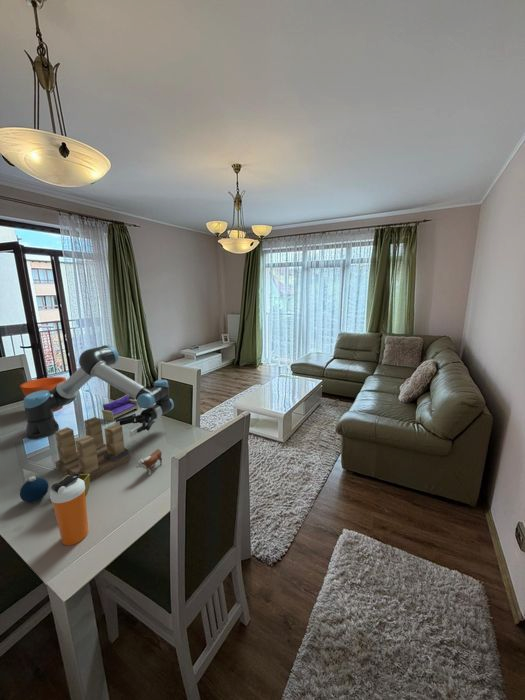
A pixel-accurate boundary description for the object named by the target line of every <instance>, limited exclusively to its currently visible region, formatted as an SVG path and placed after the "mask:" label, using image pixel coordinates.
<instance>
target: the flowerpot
mask: <svg viewBox="0 0 525 700" xmlns="http://www.w3.org/2000/svg"><path fill="white" fill-rule="evenodd" d="M66 380H67V378H66V377H63V376H52V377H51V376H50V377H42V378H37V379H32V380H29V381H25V382H23V383H22V384H20V385H19V387H20V389H21V391H22V393H23V395H24V398H25V397H26V396H27V395H29V394H31V393H33V392H37V391H42V390H47V391H49V390H52V389H54V388H55V387H56V386H57V385H58V384H59V383H61V382H65V381H66ZM62 408H64V406H62V407H60V408H57V409H55V410H53V413H54V412H57V411H59V410H61V409H62Z"/></svg>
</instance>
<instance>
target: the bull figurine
mask: <svg viewBox="0 0 525 700" xmlns="http://www.w3.org/2000/svg"><path fill="white" fill-rule="evenodd" d="M158 461H159V466H162V465H163V457H162V451H161V450H160V449H156V450H155V451H153V452H152V453H151V454H149V455H148V456H146V457H144V458H143V459H141V458H140V459H139V460H138V461H137V464H136V465H135V468H137V469H138V468H142V469H144V470H146V471H145V473H146V474H148V476H149V477H150V476H151V475H152V472H151V471H152V468H155V466H156V463H157V462H158Z"/></svg>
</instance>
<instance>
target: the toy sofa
mask: <svg viewBox="0 0 525 700" xmlns="http://www.w3.org/2000/svg"><path fill="white" fill-rule="evenodd" d="M102 408H103V409H102V410H101V412H102V417H103V420H104V421H109V422H115V419H116V418H118V417H120V416H122V415H124V414H126V413H129V412H131V411H133V410H134V409H138V410H139V405H138V404H137V400H136V399H130V396H129V395H127V394H125V395H123V396H122V397H119V398H117V399H115V400H112V401H110V402H107V403H103V404H102Z"/></svg>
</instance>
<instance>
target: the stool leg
mask: <svg viewBox="0 0 525 700" xmlns="http://www.w3.org/2000/svg"><path fill="white" fill-rule="evenodd" d="M112 424H113V425H112ZM112 424H110V425H111V426H110V425H109V427H108V426H107V427H105V428H104V436H105V444H106V445H107V453H108V454H109V455H111V456H113V457H114V456H116V455H118V454H120V453H122V452H124V451H125V449H126V447H125V439H124V433H123V425H116V424H114V423H112Z"/></svg>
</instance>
